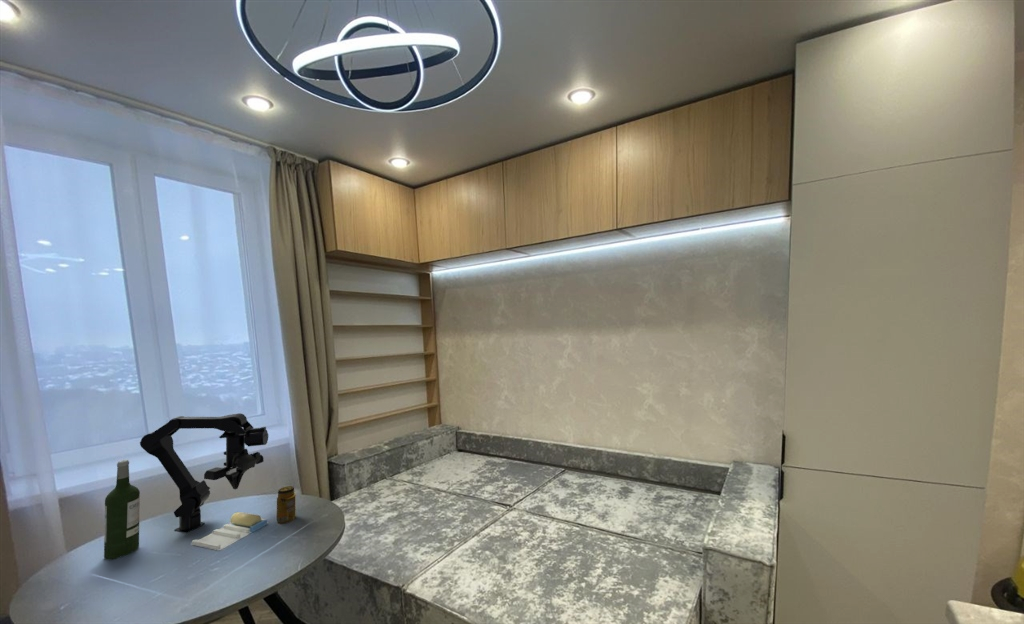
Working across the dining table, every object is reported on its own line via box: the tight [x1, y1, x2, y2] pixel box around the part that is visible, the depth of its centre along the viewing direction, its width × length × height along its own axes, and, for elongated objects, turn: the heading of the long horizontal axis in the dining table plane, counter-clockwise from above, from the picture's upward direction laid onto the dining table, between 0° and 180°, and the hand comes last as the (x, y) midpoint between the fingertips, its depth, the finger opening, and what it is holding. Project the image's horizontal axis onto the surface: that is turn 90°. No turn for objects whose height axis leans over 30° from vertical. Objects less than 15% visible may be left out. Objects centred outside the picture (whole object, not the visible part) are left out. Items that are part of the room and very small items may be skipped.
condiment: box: [276, 485, 297, 525], centre depth 137 cm, size 7×8×12 cm
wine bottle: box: [103, 459, 141, 561], centre depth 121 cm, size 8×8×30 cm
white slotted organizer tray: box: [190, 517, 270, 551], centre depth 130 cm, size 14×18×2 cm
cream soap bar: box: [229, 511, 262, 527], centre depth 134 cm, size 10×4×4 cm, turn 73°
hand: (235, 489), depth 139 cm, fingers closed
